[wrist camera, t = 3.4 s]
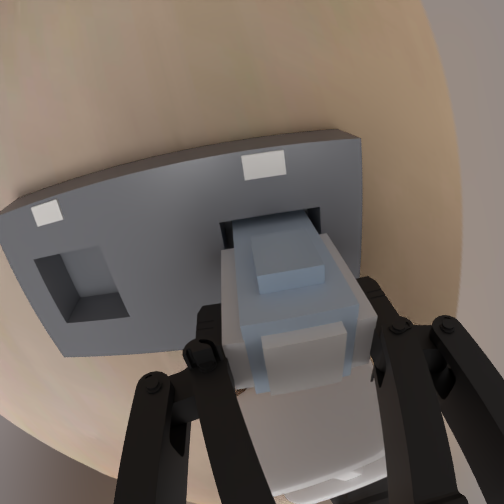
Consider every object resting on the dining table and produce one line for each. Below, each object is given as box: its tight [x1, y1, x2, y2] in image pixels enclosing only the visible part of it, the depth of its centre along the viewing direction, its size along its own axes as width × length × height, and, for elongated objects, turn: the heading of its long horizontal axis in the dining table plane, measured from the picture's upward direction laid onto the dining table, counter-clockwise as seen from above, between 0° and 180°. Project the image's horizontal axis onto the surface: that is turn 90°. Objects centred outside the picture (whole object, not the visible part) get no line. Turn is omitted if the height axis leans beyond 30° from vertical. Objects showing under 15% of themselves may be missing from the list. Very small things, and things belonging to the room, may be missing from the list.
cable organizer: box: [237, 360, 387, 504], centre depth 24 cm, size 15×11×12 cm
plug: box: [232, 209, 359, 396], centre depth 15 cm, size 5×4×11 cm
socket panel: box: [0, 129, 362, 357], centre depth 18 cm, size 12×22×4 cm, turn 98°
